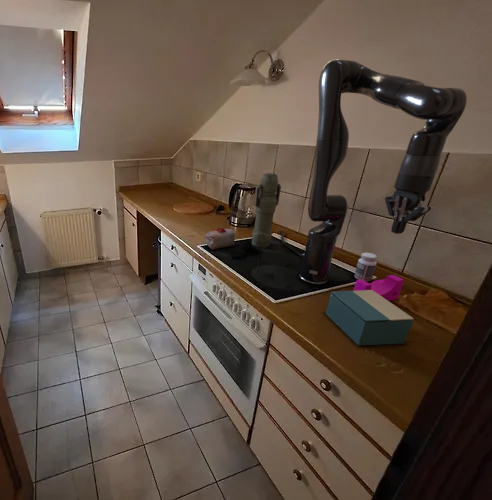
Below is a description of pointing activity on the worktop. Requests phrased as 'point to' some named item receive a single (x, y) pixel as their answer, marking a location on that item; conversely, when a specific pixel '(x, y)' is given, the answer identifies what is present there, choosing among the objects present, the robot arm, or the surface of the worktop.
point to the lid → (383, 305)
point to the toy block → (382, 287)
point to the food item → (220, 238)
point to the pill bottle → (366, 267)
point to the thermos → (265, 209)
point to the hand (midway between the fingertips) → (396, 232)
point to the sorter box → (365, 320)
